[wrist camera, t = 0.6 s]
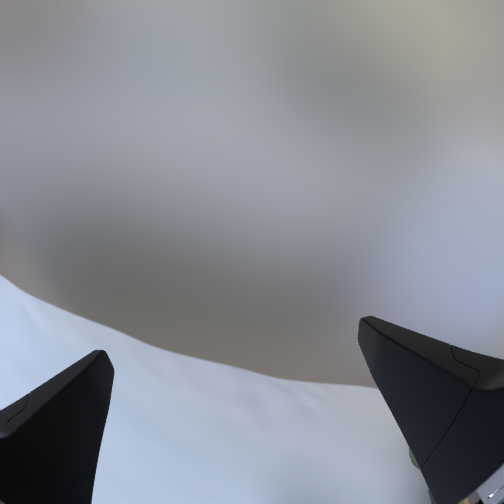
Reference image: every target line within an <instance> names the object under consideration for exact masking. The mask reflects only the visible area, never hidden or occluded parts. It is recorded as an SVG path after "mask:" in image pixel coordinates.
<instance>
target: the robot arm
mask: <svg viewBox="0 0 504 504" xmlns="http://www.w3.org/2000/svg"><path fill="white" fill-rule="evenodd" d="M358 343H359V345H360V348H361V350H362V353H363V355H364V358H365V360H366V363H367V365H368V367H369V370H370V372H371V374H372V377H373V379H374V381H375V383H376V384H377V386H378V388H379V390H380V392H381V394H382V396H383V397H384V399H385V401H386V403H387V405H388V407H389V409H390V410H391V412H392V414H393V416H394V418H395V420H396V422H397V424H398V426H399V428H400V430H401V432H402V434H403V435H404V437H405V439H406V441H407V443H408V445H409V447H410V449H411V451H412V453H413V455H414V457H415V460H416V462H417V464H418V466H419V468H420V470H421V472H422V474H423V477H424V479H425V481H426V483H427V485H428V487H429V490H430V492H431V494H432V496H433V498H434V501H435V503H436V504H459V503H461V502H462V501H464V500H465V499H466V498H468V497H469V496H471V495H472V494H473V493H475V492H476V491H477V493H478V495H479V496H480V498H481V499H480V500H478V501H477V502H476V503H474V504H504V360H503V359H499V358H495V357H491V356H487V355H482V354H479V353H475V352H471V351H468V350H465V349H462V348H459V347H456V346H453V345H450V344H448V343H445V342H442V341H439V340H436V339H434V338H431V337H428V336H425V335H423V334H419V333H417V332H414V331H412V330H409V329H406V328H403V327H400V326H398V325H395V324H392V323H390V322H387V321H384V320H381V319H379V318H376V317H373V316H367V317H363V318H361V319H360V321H359V331H358ZM113 379H114V368H113V365H112V363H111V361H110V359H109V357H108V355H107V353H106V351H104V350H94V351H93V352H91V353H90V354H88V355H86V356H85V357H83V358H82V359H80V360H79V361H77V362H76V363H74V364H73V365H71V366H70V367H68V368H67V369H65V370H63V371H62V372H60V373H59V374H57V375H56V376H54V377H53V378H51V379H50V380H48V381H47V382H45V383H44V384H42V385H41V386H39V387H37V388H36V389H34V390H33V391H31V392H30V394H29V393H28V394H27V395H25V396H24V397H22V398H21V399H19V400H17V401H16V402H14V403H13V404H11V405H9V406H7V407H6V408H4V409H2V410H0V504H91V502H92V494H93V487H94V480H95V474H96V468H97V462H98V457H99V451H100V446H101V442H102V437H103V432H104V428H105V423H106V419H107V415H108V411H109V406H110V399H111V392H112V385H113Z"/></svg>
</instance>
